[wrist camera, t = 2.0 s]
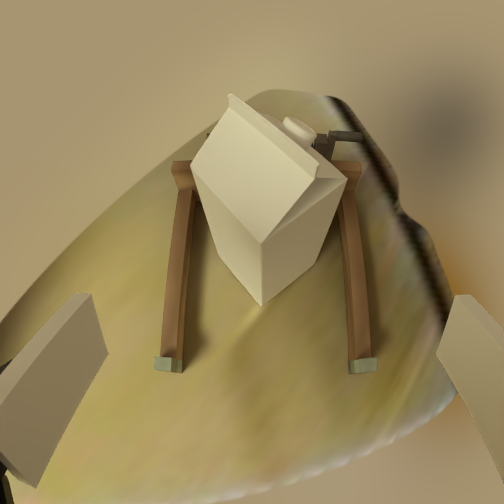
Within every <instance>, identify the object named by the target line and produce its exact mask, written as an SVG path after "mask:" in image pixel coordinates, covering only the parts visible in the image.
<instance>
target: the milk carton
mask: <svg viewBox="0 0 504 504" xmlns="http://www.w3.org/2000/svg"><path fill="white" fill-rule="evenodd" d="M228 101H229V107H228V109H227V110H226V112H225V113H224V115H223V116H222V117H221V119H220V120H219V122H218V123H217V125H216V126H215V128H214V129H213V131H212V132H211V134H210V135H209V137H208V138H207V140H206V141H205V143H204V144H203V146H202V147H201V149H200V150H199V152H198V153H197V155H196V156H195V158H194V160H193V161H192V163H191V164H190V167H191V170H192V173H193V177H194V180H195V183H196V186H197V190H198V193H199V196H200V199H201V202H202V205H203V209H204V212H205V215H206V218H207V221H208V224H209V227H210V231H211V234H212V237H213V240H214V243H215V246H216V249H217V252H218V255H219V257H220V258H221V259H222V261H223V262H224V263H225V264H226V266H227V267H228V268H229V269H230V270H231V272H232V273H233V274H234V275H235V276H236V278H237V279H238V280H239V281H240V282H241V284H242V285H243V286H244V287H245V288H246V290H247V291H248V292H249V293H250V294H251V296H252V297H253V298H254V299H255V300H256V302H257V303H258V304H259V305H260V306H263V305H264V304H266V303H267V302H268V301H270V300H271V299H272V298H273V297H275V296H276V295H277V294H278V293H280V292H281V291H282V290H283V289H285V288H286V287H287V286H288V285H290V284H291V283H292V282H293V281H294V280H296V279H297V278H298V277H299V276H301V275H302V274H303V273H304V272H305V271H307V270H308V269H309V268H310V267H312V266H313V265H314V264H315V262H316V259H317V257H318V254H319V252H320V249H321V247H322V245H323V242H324V240H325V237H326V235H327V232H328V230H329V227H330V224H331V222H332V219H333V217H334V214H335V212H336V209H337V206H338V204H339V201H340V199H341V196H342V193H343V191H344V188H345V185H346V182H347V180H348V179H347V178H346V177H345V176H344V175H343V174H342V173H341V172H340V171H339V170H338V169H337V168H335V167H334V166H333V165H332V164H331V163H330V162H329V161H327V160H326V159H325V158H324V157H323V156H322V155H321V154H319V153H318V152H317V151H316V150H315V149H313V148H312V147H311V144H312V142H313V141H314V140H315V139H316V137H317V134H316V133H315V132H314V131H313V130H312V129H311V128H310V127H308V126H307V125H306V124H304V123H303V122H301V121H299V120H297V119H295V118H293V117H289V116H287V117H285V119H284V120H283V122H282V123H281V122H280V121H279V120H277V119H276V118H275V117H273V116H271V115H267V114H264V113H260V112H256V111H255V110H254V109H252V108H251V107H250V106H248V105H247V104H246V103H244V102H243V101H242V100H240V99H239V98H238V97H236V96H235V95H234V94H232V93H228Z"/></svg>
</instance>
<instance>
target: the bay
mask: <svg viewBox="0 0 504 504" xmlns="http://www.w3.org/2000/svg"><path fill="white" fill-rule="evenodd" d="M209 135H210V134H207V138H208V137H209ZM206 140H207V139H206ZM362 140H363V134H362V133H359V132H347V131H329V135H328V139H327V134H317V137H316V139H315V141H314V147H313V143H312V144H311V147H312V148H313V149H315V150H316V151H317V152H318V153H319V154H321V155H322V156H323V157H324V158H325V159H326V160H327V161H329V162H330V163H331V164H332V165H333V166H334V167H335V168H337V169H338V170H339V171H340V172H341V173H342V174H343V175H344V176H345V177H346V178H347V179H348V180H347V182H346V185H345V188H344V191H343V193H342V196H341V199H340V201H339V204H338V206H337V212H338V220H339V229H340V238H341V248H342V259H343V270H344V283H345V296H346V313H347V333H348V363H349V374H356V373H366V372H374V371H377V358H371V344H370V325H369V311H368V298H367V287H366V277H365V267H364V258H363V250H362V242H361V235H360V227H359V220H358V214H357V207H356V201H355V195H354V189H355V186H356V184H357V182H358V179H359V177H360V174H361V172H362V170H361V166H360V162H349V161H331V157H332V153H333V149H334V145H335V142H336V141H350V142H362ZM192 161H193V160H189V161H173V165H172V170H171V171H172V173H173V176H174V179H175V181H176V184H177V186H178V189H179V192H178V199H177V205H176V212H175V218H174V225H173V233H172V240H171V248H170V256H169V264H168V273H167V282H166V291H165V302H164V313H163V324H162V337H161V352H160V357H156V356H155V363H154V370H158V371H165V372H175V373H182V362H183V344H184V327H185V313H186V300H187V287H188V276H189V265H190V254H191V244H192V235H193V226H194V217H195V208H196V201H201V199H200V196H199V193H198V190H197V186H196V183H195V180H194V177H193V173H192V170H191V167H190V164H191V163H192Z"/></svg>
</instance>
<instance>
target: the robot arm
mask: <svg viewBox="0 0 504 504" xmlns="http://www.w3.org/2000/svg"><path fill="white" fill-rule="evenodd" d="M107 355H108V351H107V348H106V344H105V341H104V338H103V335H102V331H101V328H100V325H99V321H98V318H97V314H96V310H95V307H94V303H93V299H92V295H91V294H88V293H74V294H73V295H72V296H71V297H70V298H69V299H68V300H67V301H66V302H65V303H64V304H63V305H62V306H61V307H60V308H59V309H58V310H57V311H56V312H55V313H54V314H53V315H52V316H51V318H50V319H49V320H48V321H47V322H46V323H45V324H44V325H43V326H42V327H41V328H40V329H39V331H38V332H37V333H36V334H35V335H34V336H33V337H32V338H31V339H30V341H29V342H28V343H27V344H26V345H25V346H24V347H23V349H22V350H21V351H20V352H19V353H18V354H17V356H16V357H15V358H14V359H13V360H10V361H9V362H7V363H6V364H4V365H3V366H1V367H0V504H14V501H13V497H12V493H11V489H10V484H9V481H8V478H7V476H6V475H5V472H6V470H7V469H8V470H9V471H10V472H11V473H12V474H13V475H14V476H15V477H16V478H17V479H18V480H20V481H22V482H24V483H26V484H28V485H30V486H32V487H34V488H36V487H37V485H38V483H39V481H40V479H41V477H42V475H43V473H44V471H45V469H46V467H47V465H48V462H49V460H50V458H51V456H52V455H53V453H54V451H55V449H56V447H57V445H58V443H59V441H60V439H61V437H62V435H63V433H64V431H65V429H66V428H67V426H68V424H69V422H70V420H71V418H72V416H73V415H74V413H75V411H76V409H77V407H78V406H79V404H80V402H81V400H82V398H83V397H84V395H85V393H86V391H87V390H88V388H89V386H90V384H91V383H92V381H93V379H94V377H95V376H96V374H97V372H98V371H99V369H100V367H101V365H102V364H103V362H104V360H105V359H106V357H107ZM436 356H437V357H438V359H439V361H440V362H441V364H442V366H443V367H444V369H445V371H446V372H447V374H448V376H449V377H450V379H451V381H452V383H453V384H454V386H455V388H456V389H457V391H458V393H459V395H460V397H461V398H462V400H463V402H464V404H465V406H466V407H467V409H468V411H469V413H470V415H471V417H472V419H473V420H474V422H475V424H476V426H477V428H478V430H479V432H480V434H481V436H482V438H483V440H484V442H485V444H486V446H487V448H488V450H489V452H490V454H491V456H492V458H493V461H494V463H495V465H496V467H497V469H498V471H499V474H500V476H501V478H502V480H503V483H504V329H503V328H502V327H501V326H500V325H499V324H498V323H497V321H496V320H495V319H494V318H493V317H492V316H491V315H490V314H489V313H488V312H487V311H486V310H485V309H484V308H483V307H482V306H481V305H480V304H479V303H478V302H477V301H476V300H475V299H474V298H473V296H472V295H471V294H465V295H455V297H454V301H453V304H452V308H451V311H450V314H449V317H448V320H447V323H446V326H445V329H444V332H443V335H442V338H441V341H440V344H439V346H438V349H437V352H436Z"/></svg>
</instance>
